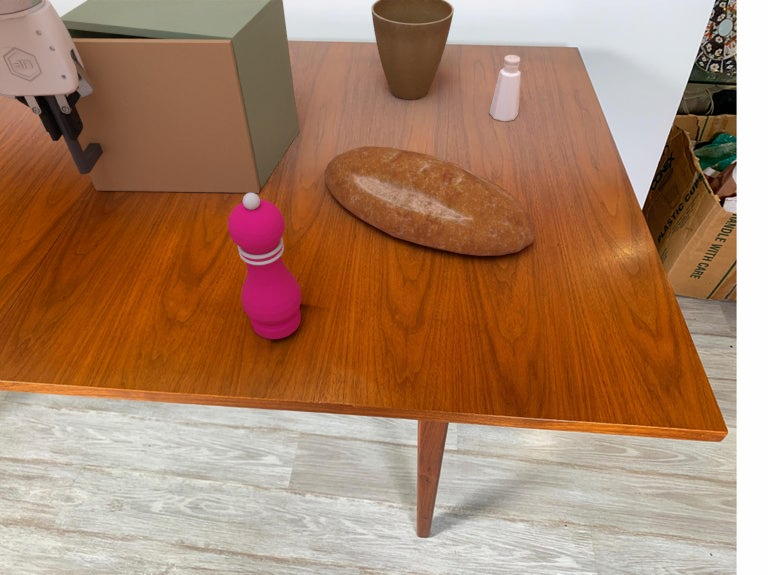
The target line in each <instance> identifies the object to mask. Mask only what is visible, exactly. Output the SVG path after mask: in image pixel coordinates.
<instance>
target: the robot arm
mask: <svg viewBox="0 0 768 575" xmlns="http://www.w3.org/2000/svg"><path fill="white" fill-rule="evenodd" d="M60 17H61V16H60V15H59V13H58V11H57V10H56V8H55V7H54V5H53V4H52V3H51V1H50V0H0V96H1V97H3V98H4V97H5V98H7V99H12V100H17V101H18V102H20V103H21V104H23V105H25V106H26V107H28V108H29V109H30V111H31V112H32V113H33V114H34V115H37V116H38V117H39V119H40V121H41V124H42V125H43V128H44V130H45V131H46V132H47V133H48V134H49V136H50V139H51V140H52V142H58V141H60V139H61V138H62V137H63V135H62V133H61V131H60V129H59V126H58V124H57V122H56V120H55V118H54V116H53V113H52V111H51V109H50V107H49V105H48V102H47V100H46V98H45V96H46V95H55V97H56V99H57V102H58V104H59V106H60V109H61V111H62V112H61V113H60V119H61V121H62V123H63V125H64V127H65V130H66V132H67V134H68V136H69V138H70V140H72V141H74V140H77V138H78V137H79V135H80V133H81V132H82V130H83V123H82V121H81V118H80V116H79V114H78V111H77V109H76V107H75V104H76V103H77V101H78V100H79V99H80V98H83V97H85V96H87V95H90V94H92V93H93V91H94V90H95V88H96V86H95V84H94V83H93V82H92V80H91V79H90V78H89V77H88V76H87V74H86V73H85V69H84V66H83V63H82V60H81V58H80V56H79V53H78V51H77V49H76V47H75V45H74V42H73V40H72V38H71V36H70V34H69V33H68V31H67V29H66V27H65V25H64V23H63V22H62V20H61V18H60Z"/></svg>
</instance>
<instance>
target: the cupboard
mask: <svg viewBox="0 0 768 575" xmlns="http://www.w3.org/2000/svg"><path fill="white" fill-rule="evenodd" d="M60 18H61V20H62V22H63V23H64V25H65V27H66V29H67V31H68V33H69V34H70V36H71V38H75V39H204V40H231V43H232V48H233V53H234V58H235V63H236V68H237V73H238V78H239V84H240V89H241V94H242V99H243V104H244V109H245V114H246V119H247V125H248V130H249V135H250V140H251V145H252V150H253V155H254V160H255V166H256V171H257V176H258V181H259V186H260V190H263V188H264V186H265V185H266V183H267V182H268V180H269V178H270V177H271V175H272V174H273V172H274V171H275V169H276V168H277V166H278V164H279V163H280V161H281V160H282V158H283V157H284V156H285V154H286V152H287V151H288V149H289V147H290V146H291V145H292V143H293V142H294V140H295V139H296V137H297V135H298V134H299V132H300V127H299V120H298V119H299V118H298V111H297V104H296V103H297V102H296V96H295V95H296V94H295V88H294V80H293V72H292V63H291V54H290V47H289V40H288V39H289V38H288V33H287V23H286V16H285V8H284V0H85V1H84V2H82V3H80V4H79V5H78V6H75V7H74V8H73V9H70V10H69V11H68V12H66V13H65V14H63V15H62V16H60Z"/></svg>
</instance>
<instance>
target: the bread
mask: <svg viewBox="0 0 768 575" xmlns="http://www.w3.org/2000/svg"><path fill="white" fill-rule="evenodd" d="M323 178H324V182H325V185H326V186H327V188H328V189H329V192H330V194H331V196H333V197H334V198H335V199H336V201H337V202H339V204H340V205H341V206H342V207H344V208H345V209H346V210H348V212H350V213H351V214H352V215H354V216H355V217H357V218H359V219H360V220H362V221H363V222H365V223H367V224H368V225H371V226H372V227H375V228H376V229H378V230H380V231H382V232H384V233H386V234H388V235H389V236H391V237H394V238H396V239H397V238H398V239H400V240H404V241H407V242H410V243H413V244H417V245H420V246H424V247H427V248H431V249H434V250H440V251H443V252H444V251H445V252H451V253H457V254H462V255H469V256H477V257H489V256H495V257H497V256H503V255H508V254H514V253H515V254H516V253H518V252H520V251H521V250H523V249H525V248H526V247H528V246H530V245H531V244H532V243H533V241H534V239H535V237H536V235H535V231H534V227H533V224H532V220H531V216H530V214H529V212H528V211H527V210H526V208H525V207H524V206H523V204H522V203H521V201H520V200H519V199H518V198H517V197H516V196H515V195H513V194H512V193H511V192H509V191H507V189H505V188H503V187H502V186H500V185H498V184H496V182H495V183H494V182H493V181H491V180H489V179H487V178H485V177H483V176H482V175H479V174H477V173H475V172H473V171H471V170H469V169H467V168H465V167H463V166H461V165H460V164H457V163H454V162H451V161H448V160H445V159H443V158H439V157H436V156H433V155H430V154H427V153H423V152H418V151H412V150H408V149H400V148H394V147H389V146H371V145H369V146H366V145H364V146H359V147H357V148H353V149H349V150H347V151H345V152H343V153H340V154H337V155H336V156H335V157H334V158H333V159H332V160H330V161H329V163H327V165H326V168H325V170H324V173H323Z"/></svg>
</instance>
